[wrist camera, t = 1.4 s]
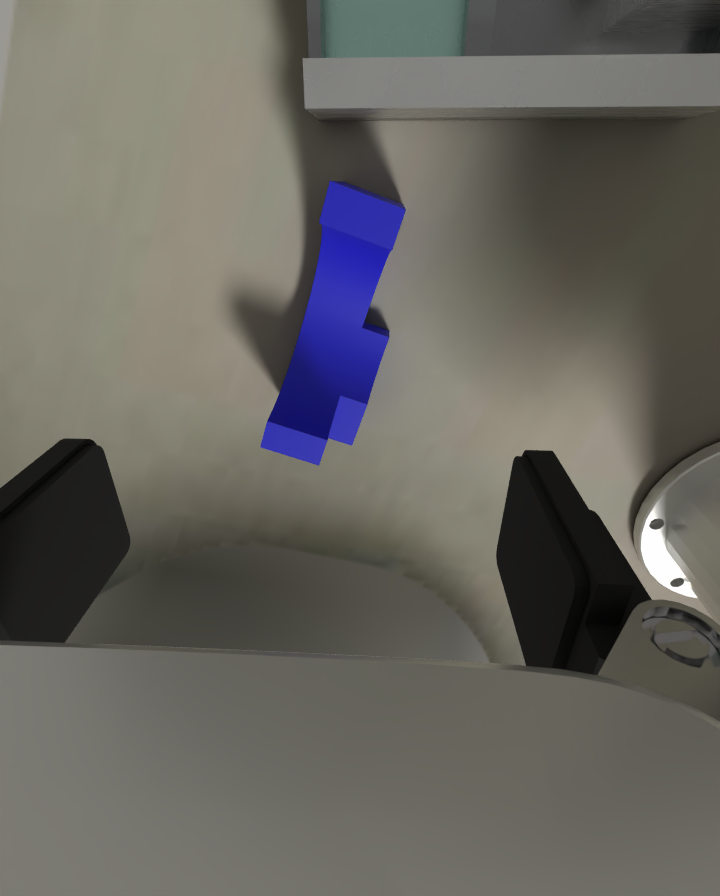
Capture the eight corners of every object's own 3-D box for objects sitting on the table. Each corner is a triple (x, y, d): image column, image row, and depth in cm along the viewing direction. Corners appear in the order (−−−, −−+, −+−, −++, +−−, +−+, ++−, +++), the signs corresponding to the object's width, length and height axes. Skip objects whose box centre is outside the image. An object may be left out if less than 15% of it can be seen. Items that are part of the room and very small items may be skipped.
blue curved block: (355, 421, 29) (347, 474, 24) (284, 398, 29) (260, 446, 23) (431, 214, 23) (443, 223, 18) (343, 181, 23) (329, 180, 18)
